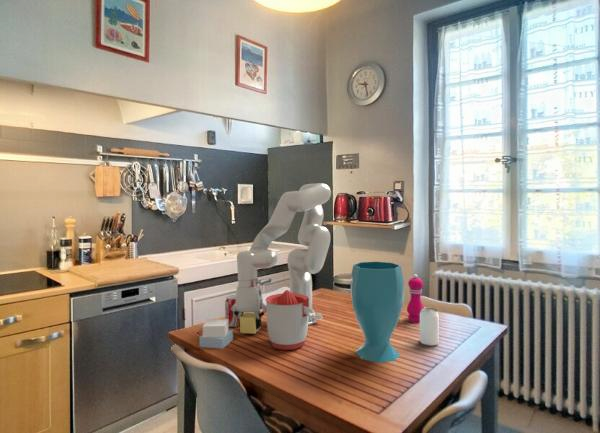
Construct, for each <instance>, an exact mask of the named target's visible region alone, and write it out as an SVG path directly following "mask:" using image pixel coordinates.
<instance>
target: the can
mask: <svg viewBox="0 0 600 433" xmlns="http://www.w3.org/2000/svg"><path fill="white" fill-rule="evenodd" d="M439 320H440V319H439V312H438V310H437V309H436V308H433V307H424V308H422V309H421V312H420V322H419V342H420V343H421V344H422V345H424V346H429V347H434V346H437V345H439V343H440V341H439V339H440V338H439V337H440V336H439V334H440V331H439V330H440V328H439V326H440V325H439V324H440V323H439V322H440V321H439Z"/></svg>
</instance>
